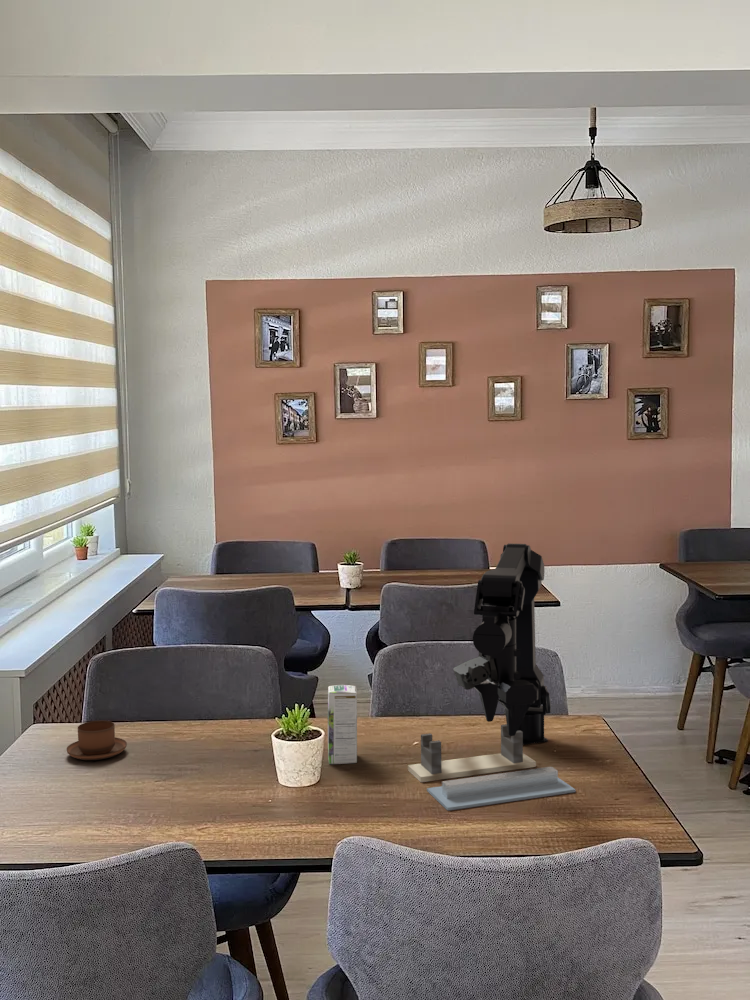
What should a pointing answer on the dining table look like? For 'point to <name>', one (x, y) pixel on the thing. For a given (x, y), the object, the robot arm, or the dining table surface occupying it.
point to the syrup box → (342, 724)
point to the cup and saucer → (96, 741)
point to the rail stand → (470, 759)
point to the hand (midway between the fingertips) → (500, 728)
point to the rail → (499, 782)
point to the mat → (500, 795)
